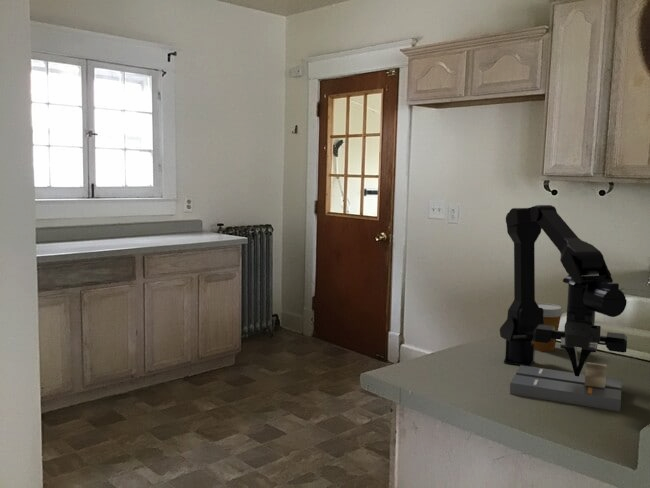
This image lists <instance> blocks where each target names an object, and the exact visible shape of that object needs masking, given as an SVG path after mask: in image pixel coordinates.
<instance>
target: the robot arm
mask: <svg viewBox="0 0 650 488" xmlns="http://www.w3.org/2000/svg"><path fill="white" fill-rule="evenodd" d="M505 224H506V230H507V235H508V236H509V238H510V239H511V241H512V243H513V257H514V258H513V262H514V263H513V273H514V275H513V276H514V281H513V283H514V284H513V285H514V289H513V290H514V291H513V293H514V295H513V296H514V298H513V299H514V300H513V301H512V303H511V304H510V307H508V309H507V319H506V320H505V321H504V323H503V324H502V325H501V326H500V327H499V335H500V338H502V339H504V340H505V357H504V360H503V363H504V364H512V365H516V366H517V365H518V366H520V365H522V366H529V367H531V365H532V364H533V363H534V361H535V355H536V354H535V353H536V350H535V345H534V344H533V341H535V342H543V343H548V342H549V341H551V340H552V339H556V340H560V343H561V344H560V346H559V347H560V349H563V350H565V351H566V353H567V354H568V355H567V356H568V357H569V360H570V363H571V365H572V366H571V367H572V370H573V373H574V374H575V376H578V377H579V375H580V374H581V372H582V370H583V367H584V365H585V362H586V360H587V359H588V358H589V356H590V355H591V353H597V352H598V351H597V350H598V345H601V346H602V345H603V346H605V347H606V348H607V350H608V351H610V352H615V353H616V352H617V353H627V346H628V337H627V335H626V334H625V333H620V332H618V333H617V332H609V331H608V332H607V333H606V335H605V336H604V335H601V330H602V329H601V328H602V326H601V325H596V324H595V323H596V313H598V314H601V315H604V316H607V317H611V318H615V317H618V316H620V315H621V314H622V313H624V311H625V309H626V307H627V300H628V299H627V298H626V295H625V293H624V292H623V291H622V290H621V289H620V287H619V286H620V285H619V283H618V282H613V278H612V273H611V272H610V270H609V268H608V266H607V263H606V261H605V257H604V255H603V254H602V251H600V250H599V249H598V248H597V247H595V246H594V245H593V244H591V243H588V242H587V241H584V240H582V239H581V238H579V237H578V236H577V234H576V233H575V232H574V230H572V228H571V227H570V226H569V225H568V224H567V223H566V221H565V220H564V219H563V218H562V217H561V216H560V214H559V213H558V211H557V209H556V207H555V206H553V205H551V204H537V205H533V206H531V207H513V208H511V209H510V210H509V212H508V213H506V216H505ZM542 231H543V232H544V234H546V236H547V237H548V238H549V240H550V241H551V242H552V244H554V246H555V247H556V249H557V250H558V251H559V253H560V262H561V263H560V264H562V266H563V268H564V270H565V272H566V273H567V274H568V275H567V276H565V277H564V278H563V279H562V282H563V283H565V284H568V287H567V301H566V302H567V304H566V320H565V323H564V331H562V330H561V331H560V330H558V331H555V327H554V326H549V325H543V324H544V321H543V312H544V311H543V308H539V306H538V305H537V303H538V302H537V301H536V274H535V271H536V269H535V268H536V265H535V259H536V258H535V252H536V251H535V249H536V248H535V243H536V241H537V240H538V238H539V236H540V235H541V234H542ZM578 348H581V350H580V354H579V355H580V356H579V360H578Z"/></svg>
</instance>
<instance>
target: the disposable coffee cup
mask: <svg viewBox="0 0 650 488" xmlns="http://www.w3.org/2000/svg"><path fill="white" fill-rule="evenodd" d="M536 303H537V305H538V306H539V308H543V311H544V312H543V321H544V324H543V325H549V326H554V327H555V331H559V327H560V322H561V317H562V315H563V313H564V311H563V310H562V307H561V306H560V305H559V304H553V303H549V302H536ZM556 342H557V339H552V340H551V341H549V342H548V343H543V342H535V341H533V344H534V345H535V351H539V352H552V351H555V350H556V349H555V348H556V344H557V343H556Z"/></svg>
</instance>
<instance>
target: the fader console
mask: <svg viewBox="0 0 650 488" xmlns="http://www.w3.org/2000/svg"><path fill="white" fill-rule="evenodd" d="M622 381H623V380H622V379H621V378H613V377H607V376H606V382H605V388H599V387H593V386H586V385H585V373H580V375H579V377H578V376H575V374H574V372H571V371H564V370H559V369H558V370H555V369H549V368H543V367H534V366H524V365H519V367H518V368H517V370H516V372H515V374H514V375H513V378H512V379H511V381H510V384H509V385H510V386H509V395H516V396H521V397H527V398H534V399H541V400H547V401H552V402H559V403H565V404H571V405H578V406H583V407H589V408H596V409H601V410H607V411H608V410H609V411H613V412H621V407H622V405H621V404H622V386H623V384H622V383H623V382H622Z"/></svg>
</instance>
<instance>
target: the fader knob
mask: <svg viewBox="0 0 650 488" xmlns="http://www.w3.org/2000/svg"><path fill="white" fill-rule="evenodd" d="M584 374H585V385H586V386H593V387H599V388H605V382H606V377H607V364H602V363H593V362H586V364H585V373H584Z"/></svg>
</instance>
